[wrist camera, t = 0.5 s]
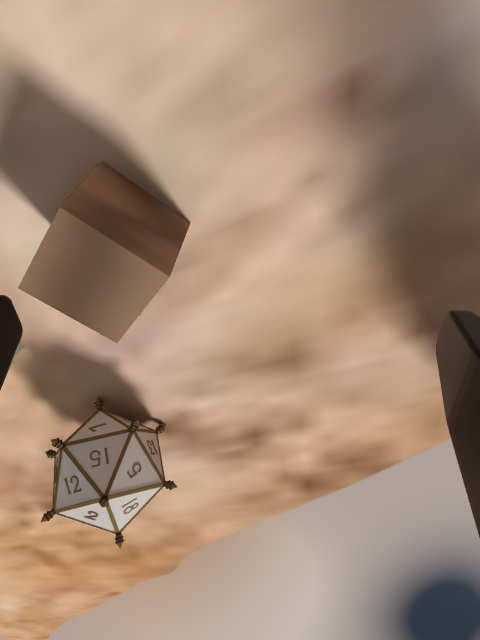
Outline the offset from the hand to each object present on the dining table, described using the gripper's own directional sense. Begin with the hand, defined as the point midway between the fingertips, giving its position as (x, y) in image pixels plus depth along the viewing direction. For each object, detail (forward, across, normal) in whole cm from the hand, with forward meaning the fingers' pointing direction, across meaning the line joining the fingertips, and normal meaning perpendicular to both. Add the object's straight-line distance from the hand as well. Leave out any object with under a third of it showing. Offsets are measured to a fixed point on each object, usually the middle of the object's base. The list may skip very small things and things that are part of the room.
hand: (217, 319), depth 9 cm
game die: (+14, +10, +21) cm, 27 cm away
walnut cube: (+13, +7, +5) cm, 16 cm away
